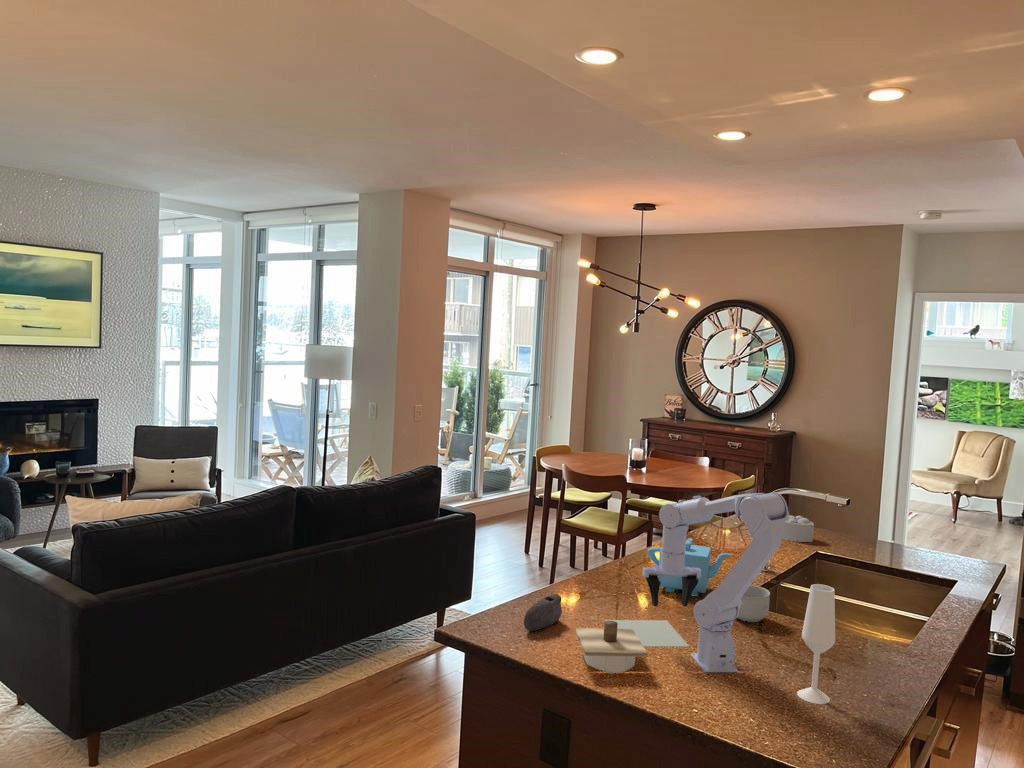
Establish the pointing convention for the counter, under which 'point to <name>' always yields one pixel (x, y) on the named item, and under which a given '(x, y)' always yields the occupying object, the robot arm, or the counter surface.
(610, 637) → the cover
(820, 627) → the champagne flute
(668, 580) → the teakettle
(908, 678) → the counter surface
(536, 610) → the perforated stone tool
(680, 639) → the mat
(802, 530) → the lumpy-topped squat cylinder
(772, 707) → the counter surface
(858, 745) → the counter surface
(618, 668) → the bowl
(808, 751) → the counter surface
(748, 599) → the teacup
